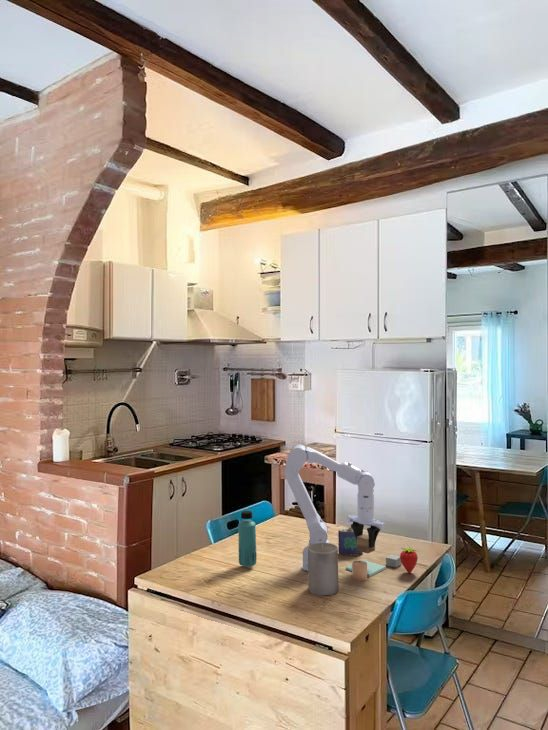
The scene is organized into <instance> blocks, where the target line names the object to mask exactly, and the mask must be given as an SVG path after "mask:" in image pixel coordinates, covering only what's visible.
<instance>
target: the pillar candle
mask: <svg viewBox="0 0 548 730" xmlns="http://www.w3.org/2000/svg"><path fill="white" fill-rule="evenodd" d="M307 546H308V545H307ZM338 550H339V549H338V546H337V545H336V544H333V543H331V542H329V543H314V544H311V545H309V546H308V571H307V572H308V573H307V575H308V576H307V577H308V580H307V581H308V583H307V584H308V591H309V593H311V594H313V595H316V596H332V595H335V594H337V593H338V592H339V588H340V587H339V586H340V583H339V552H338Z"/></svg>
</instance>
